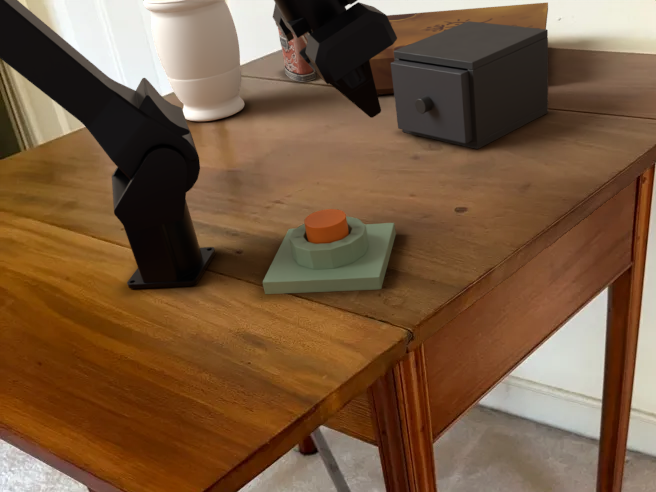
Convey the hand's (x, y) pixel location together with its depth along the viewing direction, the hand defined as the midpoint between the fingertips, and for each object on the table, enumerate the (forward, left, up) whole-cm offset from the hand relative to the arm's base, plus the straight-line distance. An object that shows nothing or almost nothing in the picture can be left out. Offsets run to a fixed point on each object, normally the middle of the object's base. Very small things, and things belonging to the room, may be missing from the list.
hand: (375, 114), depth 72 cm
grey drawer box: (+25, -7, -10) cm, 27 cm away
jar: (+37, +29, -10) cm, 48 cm away
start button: (-8, +4, -7) cm, 12 cm away
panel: (-8, +4, -10) cm, 14 cm away
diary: (+46, -4, -10) cm, 47 cm away
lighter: (+51, +20, -10) cm, 55 cm away
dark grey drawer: (+23, -6, -9) cm, 25 cm away
